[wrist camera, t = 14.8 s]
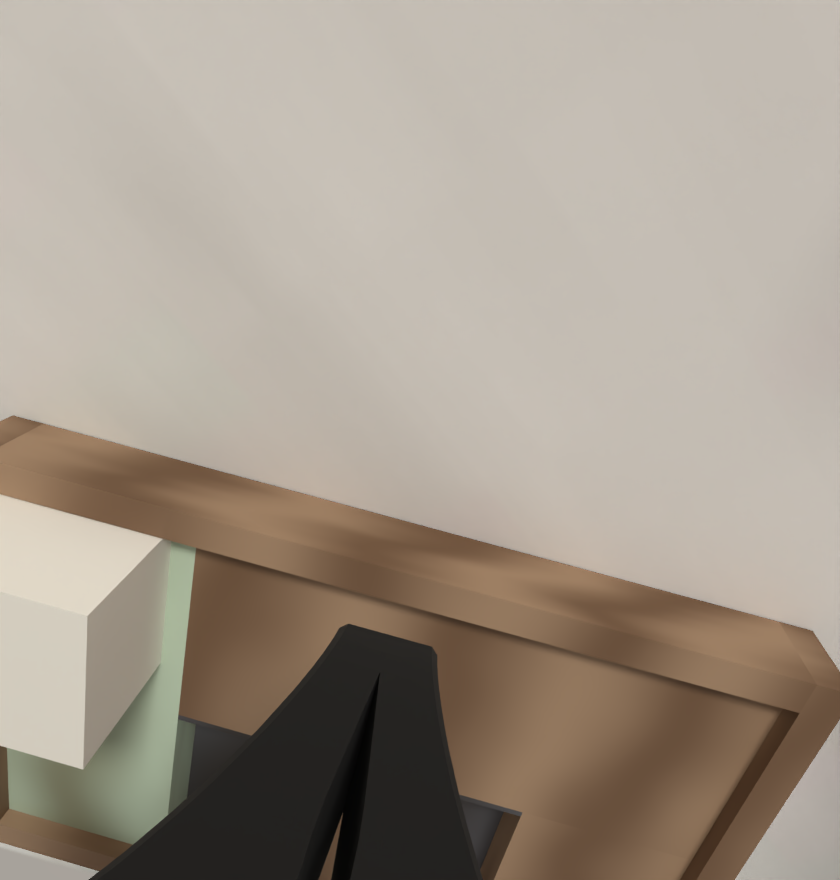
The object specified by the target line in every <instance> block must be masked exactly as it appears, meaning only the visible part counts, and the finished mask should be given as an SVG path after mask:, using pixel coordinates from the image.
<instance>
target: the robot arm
mask: <svg viewBox="0 0 840 880" xmlns="http://www.w3.org/2000/svg"><path fill="white" fill-rule="evenodd" d="M342 814H343V815H342ZM341 816H342V821H341V826H340V832H339V838H338V843H337V849H336V855H335V860H334V866H333V871H332V877H331V880H483V878H482V874H481V871H480V868H479V865H478V861H477V858H476V854H475V851H474V847H473V844H472V840H471V837H470V833H469V830H468V827H467V823H466V819H465V815H464V811H463V807H462V804H461V800H460V796H459V791H458V787H457V783H456V778H455V774H454V769H453V765H452V761H451V756H450V752H449V747H448V742H447V737H446V731H445V725H444V719H443V713H442V707H441V700H440V692H439V682H438V668H437V654H436V652H435V651H434V649H433V647H432V646H428V645H425V644H421V643H417V642H414V641H410V640H406V639H403V638H399V637H396V636H392V635H388V634H385V633H381V632H377V631H374V630H370V629H367V628H363V627H359V626H356V625H352V624H346V625H344V626H342V627H340V628H339V629H338V631H337V633H336V634H335V636H334V638H333V639H332V641H331V642H330V644H329V645H328V647H327V648H326V649H325V651H324V652H323V654H322V655H321V656H320V658H319V659H318V660H317V662H316V663H315V664H314V666H313V667H312V668H311V669H310V671H309V672H308V673H307V674H306V675H305V677H304V678H303V679H302V680H301V682H300V683H299V684H298V685H297V686H296V688H295V689H294V690H293V691H292V692H291V693H290V694H289V695H288V697H287V698H286V699H285V700H284V701H283V702H282V703H281V704H280V705H279V707H278V708H277V709H276V710H275V711H274V712H273V713H272V714H271V715H270V717H269V718H268V719H267V720H266V721H265V722H264V723H263V724H262V725H261V726H260V727H259V729H258V730H257V731H256V732H255V733H254V734H253V735H252V736H251V737H250V738H249V739H248V740H247V741H246V742H245V743H244V744H243V745H242V746H241V747H240V748H239V749H238V750H237V751H236V752H235V753H234V754H233V755H232V756H231V757H229V758H228V759H227V760H226V761H225V762H224V763H223V764H222V765H221V766H220V767H219V768H218V769H217V770H216V771H215V772H214V773H213V774H212V775H211V776H210V777H209V778H208V779H207V780H206V781H205V782H204V783H203V784H202V785H201V786H200V787H198V788H197V789H196V790H195V791H194V792H193V793H192V794H191V795H190V796H189V797H187V798H186V799H185V800H184V801H183V802H182V803H181V804H180V805H179V806H177V807H176V808H175V809H174V810H173V811H172V812H171V813H170V814H168V815H167V816H166V817H165V818H164V819H163V820H161V821H160V822H159V823H158V824H157V825H156V826H154V827H153V828H152V829H151V830H150V831H148V832H147V833H146V834H145V835H144V836H143V837H141V838H140V839H139V840H138V841H137V842H136V843H134V844H133V845H132V846H131V847H129V848H128V849H127V850H126V851H125V852H123V853H122V854H121V855H120V856H118V857H117V858H116V859H114V860H113V861H112V862H111V863H109V864H108V865H107V866H106V867H104V868H103V869H102V870H101V871H99V872H98V873H97V874H95V875H94V876H93V877H92V878H90V879H89V880H319V877H320V875H321V872H322V869H323V866H324V864H325V861H326V858H327V855H328V852H329V850H330V847H331V844H332V841H333V839H334V836H335V833H336V830H337V827H338V825H339V822H340V819H341Z"/></svg>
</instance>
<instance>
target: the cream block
mask: <svg viewBox="0 0 840 880" xmlns="http://www.w3.org/2000/svg"><path fill="white" fill-rule="evenodd" d="M170 553H171V541H169V540H166V539H162V538H158V537H155V536H151V535H147V534H144V533H140V532H137V531H133V530H129V529H126V528H122V527H118V526H115V525H111V524H107V523H104V522H100V521H96V520H93V519H89V518H85V517H82V516H78V515H74V514H71V513H67V512H64V511H60V510H56V509H53V508H49V507H45V506H42V505H38V504H34V503H31V502H27V501H23V500H20V499H16V498H12V497H9V496H5V495H1V494H0V746H3V747H6V748H10V749H13V750H17V751H20V752H24V753H27V754H31V755H34V756H38V757H41V758H45V759H48V760H52V761H55V762H59V763H62V764H66V765H69V766H72V767H76V768H79V769H84V768H85V766H86V765H87V764H88V762H89V761H90V760H91V758H92V757H93V755H94V754H95V753H96V751H97V750H98V749H99V747H100V746H101V744H102V743H103V742H104V740H105V739H106V738H107V736H108V735H109V733H110V732H111V731H112V729H113V728H114V726H115V725H116V724H117V722H118V721H119V720H120V718H121V717H122V715H123V714H124V713H125V711H126V710H127V709H128V707H129V706H130V704H131V703H132V702H133V700H134V699H135V698H136V696H137V695H138V693H139V692H140V691H141V689H142V688H143V687H144V685H145V684H146V682H147V681H148V680H149V678H150V677H151V676H152V674H153V673H154V671H155V670H156V669H157V667H158V666H159V665H160V663H161V656H162V644H163V633H164V621H165V610H166V598H167V587H168V576H169V564H170Z"/></svg>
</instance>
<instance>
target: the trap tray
mask: <svg viewBox="0 0 840 880" xmlns="http://www.w3.org/2000/svg"><path fill="white" fill-rule="evenodd" d="M0 494H1V495H5V496H9V497H12V498H16V499H20V500H23V501H27V502H31V503H34V504H38V505H42V506H45V507H49V508H53V509H56V510H60V511H64V512H67V513H71V514H74V515H78V516H82V517H85V518H89V519H93V520H96V521H100V522H104V523H107V524H111V525H115V526H118V527H122V528H126V529H129V530H133V531H137V532H140V533H144V534H147V535H151V536H155V537H158V538H162V539H166V540H169V541H171V553H170V564H169V576H168V587H167V598H166V610H165V621H164V633H163V644H162V656H161V663H160V665H159V666H158V667H157V669H156V670H155V671H154V673H153V674H152V676H151V677H150V678H149V680H148V681H147V682H146V684H145V685H144V687H143V688H142V689H141V691H140V692H139V693H138V695H137V696H136V698H135V699H134V700H133V702H132V703H131V704H130V706H129V707H128V709H127V710H126V711H125V713H124V714H123V715H122V717H121V718H120V720H119V721H118V722H117V724H116V725H115V726H114V728H113V729H112V731H111V732H110V733H109V735H108V736H107V738H106V739H105V740H104V742H103V743H102V744H101V746H100V747H99V749H98V750H97V751H96V753H95V754H94V755H93V757H92V758H91V760H90V761H89V762H88V764H87V765H86V766H85V768H84V769H79V768H76V767H72V766H69V765H66V764H62V763H59V762H55V761H52V760H48V759H45V758H41V757H38V756H34V755H31V754H27V753H24V752H20V751H17V750H13V749H10V748H6V747H3V746H0V842H2V843H5V844H9V845H12V846H15V847H19V848H22V849H26V850H29V851H32V852H36V853H39V854H43V855H46V856H49V857H53V858H56V859H60V860H63V861H67V862H70V863H73V864H77V865H80V866H84V867H87V868H90V869H94V870H97V871H101V870H102V869H103V868H104V867H106V866H107V865H108V864H109V863H111V862H112V861H113V860H114V859H116V858H117V857H118V856H120V855H121V854H122V853H123V852H125V851H126V850H127V849H128V848H129V847H131V846H132V845H133V844H134V843H136V842H137V841H138V840H139V839H140V838H141V837H143V836H144V835H145V834H146V833H147V832H148V831H150V830H151V829H152V828H153V827H154V826H156V825H157V824H158V823H159V822H160V821H161V820H163V819H164V818H165V817H166V816H167V815H168V814H170V813H171V812H172V811H173V810H174V809H175V808H176V807H177V806H179V805H180V804H181V803H182V802H183V801H184V800H185V799H186V798H187V797H189V796H190V795H191V794H192V793H193V792H194V791H195V790H196V789H197V788H198V787H200V786H201V785H202V784H203V783H204V782H205V781H206V780H207V779H208V778H209V777H210V776H211V775H212V774H213V773H214V772H215V771H216V770H217V769H218V768H219V767H220V766H221V765H222V764H223V763H224V762H225V761H226V760H227V759H228V758H229V757H231V756H232V755H233V754H234V753H235V752H236V751H237V750H238V749H239V748H240V747H241V746H242V745H243V744H244V743H245V742H246V741H247V740H248V739H249V738H250V737H251V736H252V735H253V734H254V733H255V732H256V731H257V730H258V729H259V727H260V726H261V725H262V724H263V723H264V722H265V721H266V720H267V719H268V718H269V717H270V715H271V714H272V713H273V712H274V711H275V710H276V709H277V708H278V707H279V705H280V704H281V703H282V702H283V701H284V700H285V699H286V698H287V697H288V695H289V694H290V693H291V692H292V691H293V690H294V689H295V688H296V686H297V685H298V684H299V683H300V682H301V680H302V679H303V678H304V677H305V675H306V674H307V673H308V672H309V671H310V669H311V668H312V667H313V666H314V664H315V663H316V662H317V660H318V659H319V658H320V656H321V655H322V654H323V652H324V651H325V649H326V648H327V647H328V645H329V644H330V642H331V641H332V639H333V638H334V636H335V634H336V633H337V631H338V629H339V628H340V627H342V626H344V625H346V624H352V625H356V626H359V627H363V628H367V629H370V630H374V631H377V632H381V633H385V634H388V635H392V636H396V637H399V638H403V639H406V640H410V641H414V642H417V643H421V644H425V645H428V646H432V647H433V649H434V651H435V652H436V654H437V668H438V682H439V692H440V700H441V707H442V713H443V719H444V725H445V731H446V737H447V742H448V747H449V752H450V756H451V761H452V765H453V769H454V774H455V778H456V783H457V787H458V791H459V796H460V800H461V804H462V807H463V811H464V815H465V819H466V823H467V827H468V830H469V833H470V837H471V840H472V844H473V847H474V851H475V854H476V858H477V861H478V865H479V868H480V871H481V874H482V878H483V880H735V878H736V877H737V875H738V874H739V872H740V871H741V869H742V867H743V866H744V864H745V863H746V861H747V860H748V858H749V857H750V855H751V854H752V852H753V851H754V849H755V848H756V846H757V845H758V843H759V842H760V840H761V839H762V837H763V835H764V834H765V832H766V831H767V829H768V828H769V826H770V825H771V823H772V822H773V820H774V819H775V817H776V816H777V814H778V813H779V811H780V810H781V808H782V806H783V805H784V803H785V802H786V800H787V799H788V797H789V796H790V794H791V793H792V791H793V790H794V788H795V787H796V785H797V784H798V782H799V781H800V779H801V778H802V776H803V774H804V773H805V771H806V770H807V768H808V767H809V765H810V764H811V762H812V761H813V759H814V758H815V756H816V755H817V753H818V752H819V750H820V749H821V747H822V745H823V744H824V742H825V741H826V739H827V738H828V736H829V735H830V733H831V732H832V730H833V729H834V727H835V726H836V724H837V723H838V721H839V720H840V672H839V670H838V669H837V667H836V666H835V664H834V663H833V661H832V660H831V658H830V657H829V655H828V654H827V652H826V651H825V649H824V648H823V646H822V645H821V643H820V642H819V640H818V639H817V637H816V636H815V634H814V633H813V631H811V630H807V629H803V628H800V627H796V626H792V625H788V624H785V623H781V622H777V621H774V620H770V619H766V618H762V617H759V616H755V615H751V614H748V613H744V612H740V611H736V610H733V609H729V608H725V607H722V606H718V605H714V604H710V603H707V602H703V601H699V600H696V599H692V598H688V597H685V596H681V595H677V594H673V593H670V592H666V591H662V590H659V589H655V588H651V587H647V586H644V585H640V584H636V583H633V582H629V581H625V580H621V579H618V578H614V577H610V576H607V575H603V574H599V573H595V572H592V571H588V570H584V569H581V568H577V567H573V566H569V565H566V564H562V563H558V562H555V561H551V560H547V559H543V558H540V557H536V556H532V555H529V554H525V553H521V552H517V551H514V550H510V549H506V548H503V547H499V546H495V545H491V544H488V543H484V542H480V541H477V540H473V539H469V538H465V537H462V536H458V535H454V534H451V533H447V532H443V531H439V530H436V529H432V528H428V527H425V526H421V525H417V524H413V523H410V522H406V521H402V520H399V519H395V518H391V517H388V516H384V515H380V514H376V513H373V512H369V511H365V510H362V509H358V508H354V507H350V506H347V505H343V504H339V503H336V502H332V501H328V500H324V499H321V498H317V497H313V496H310V495H306V494H302V493H298V492H295V491H291V490H287V489H284V488H280V487H276V486H272V485H269V484H265V483H261V482H258V481H254V480H250V479H246V478H243V477H239V476H235V475H232V474H228V473H224V472H220V471H217V470H213V469H209V468H206V467H202V466H198V465H194V464H191V463H187V462H183V461H180V460H176V459H172V458H168V457H165V456H161V455H157V454H154V453H150V452H146V451H142V450H139V449H135V448H131V447H128V446H124V445H120V444H116V443H113V442H109V441H105V440H102V439H98V438H94V437H91V436H87V435H83V434H79V433H76V432H72V431H68V430H65V429H61V428H57V427H53V426H50V425H46V424H42V423H39V422H35V421H31V420H27V419H24V418H20V417H16V416H11V417H9V418H6V419H4V420H2V421H0ZM342 815H343V814H342ZM341 821H342V816H341V819H340V822H339V825H338V827H337V830H336V833H335V836H334V839H333V841H332V844H331V847H330V850H329V852H328V855H327V858H326V861H325V864H324V866H323V869H322V872H321V875H320V877H319V880H331V877H332V871H333V866H334V860H335V855H336V849H337V843H338V838H339V832H340V826H341Z"/></svg>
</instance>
